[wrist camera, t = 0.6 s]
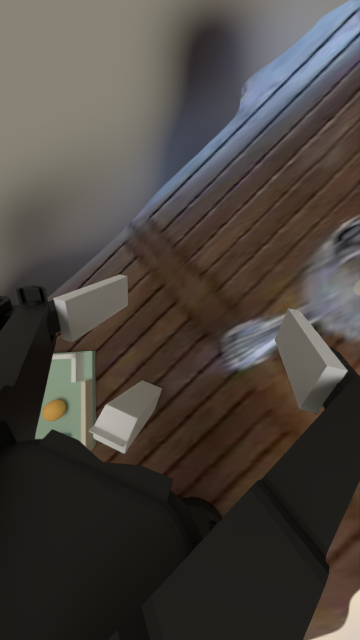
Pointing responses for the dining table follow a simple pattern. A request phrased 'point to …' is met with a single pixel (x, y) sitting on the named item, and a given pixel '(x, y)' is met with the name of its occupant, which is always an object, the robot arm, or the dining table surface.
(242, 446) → the dining table surface
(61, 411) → the ball
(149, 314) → the dining table surface
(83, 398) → the pitch
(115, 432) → the milk
